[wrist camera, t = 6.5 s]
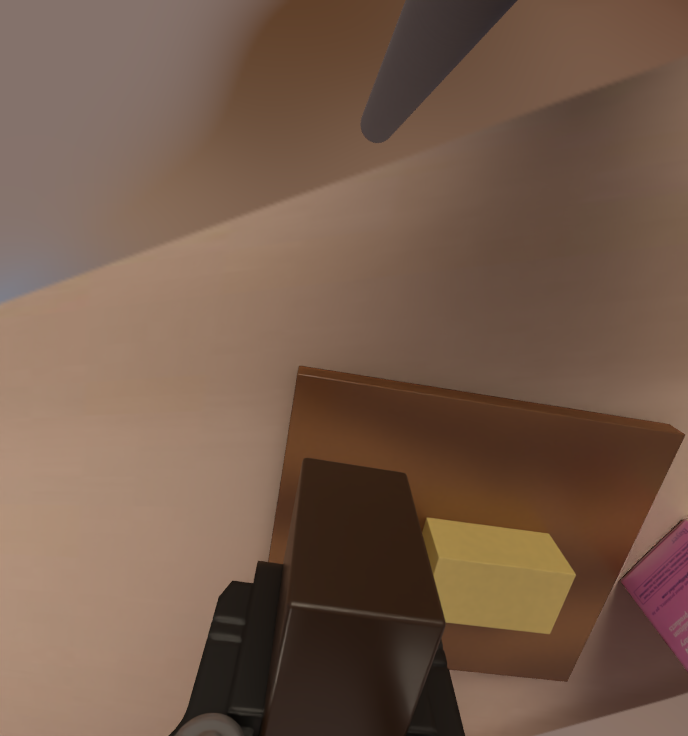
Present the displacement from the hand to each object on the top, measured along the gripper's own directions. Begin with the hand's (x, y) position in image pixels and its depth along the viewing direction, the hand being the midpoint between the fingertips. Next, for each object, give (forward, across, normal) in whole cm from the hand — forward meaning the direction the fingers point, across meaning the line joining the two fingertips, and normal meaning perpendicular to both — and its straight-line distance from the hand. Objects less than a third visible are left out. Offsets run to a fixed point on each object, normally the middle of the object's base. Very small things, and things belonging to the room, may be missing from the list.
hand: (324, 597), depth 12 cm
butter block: (+11, -10, +8) cm, 17 cm away
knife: (0, 0, +6) cm, 6 cm away
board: (+13, -8, +8) cm, 17 cm away
